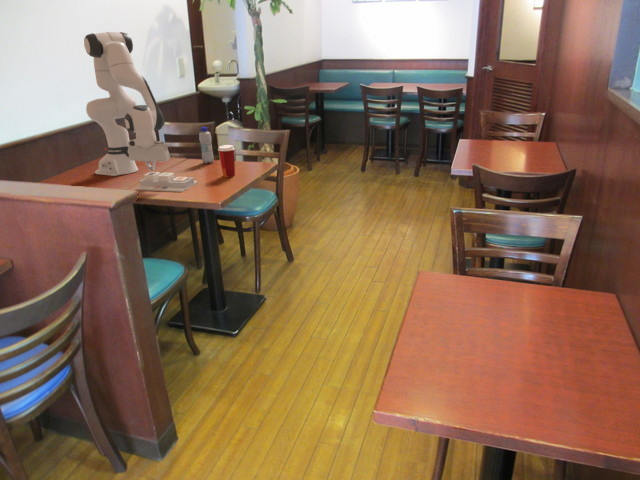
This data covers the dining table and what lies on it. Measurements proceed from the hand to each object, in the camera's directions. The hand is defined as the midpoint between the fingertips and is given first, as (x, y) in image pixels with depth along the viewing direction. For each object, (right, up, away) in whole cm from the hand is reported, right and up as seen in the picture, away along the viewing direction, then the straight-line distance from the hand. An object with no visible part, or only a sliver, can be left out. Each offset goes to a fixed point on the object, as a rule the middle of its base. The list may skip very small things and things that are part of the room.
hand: (151, 169), depth 244 cm
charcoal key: (0, -4, +2) cm, 5 cm away
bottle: (+18, +10, +42) cm, 47 cm away
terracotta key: (+15, -7, -1) cm, 16 cm away
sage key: (+7, -5, 0) cm, 9 cm away
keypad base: (+7, -8, +1) cm, 11 cm away
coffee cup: (+34, -1, +15) cm, 38 cm away
